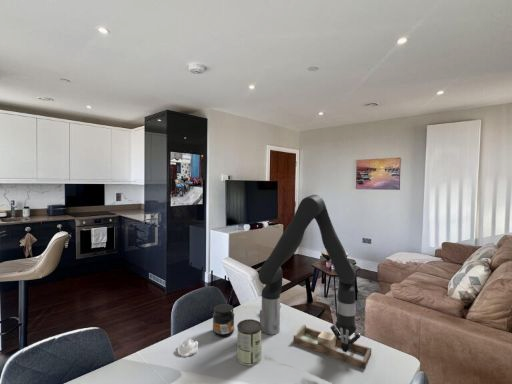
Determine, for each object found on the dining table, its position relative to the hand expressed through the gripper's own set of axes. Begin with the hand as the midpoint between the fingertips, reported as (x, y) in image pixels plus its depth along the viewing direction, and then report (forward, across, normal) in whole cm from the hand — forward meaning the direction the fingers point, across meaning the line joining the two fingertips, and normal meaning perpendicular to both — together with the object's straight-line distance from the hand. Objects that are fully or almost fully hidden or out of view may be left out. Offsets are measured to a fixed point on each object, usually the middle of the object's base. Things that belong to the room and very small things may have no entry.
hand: (345, 350), depth 117 cm
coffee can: (+3, -33, -24) cm, 41 cm away
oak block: (+1, -8, 0) cm, 8 cm away
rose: (+3, -58, -35) cm, 68 cm away
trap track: (+2, -6, 0) cm, 7 cm away
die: (+3, -45, +16) cm, 48 cm away
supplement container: (+3, -55, -15) cm, 57 cm away
